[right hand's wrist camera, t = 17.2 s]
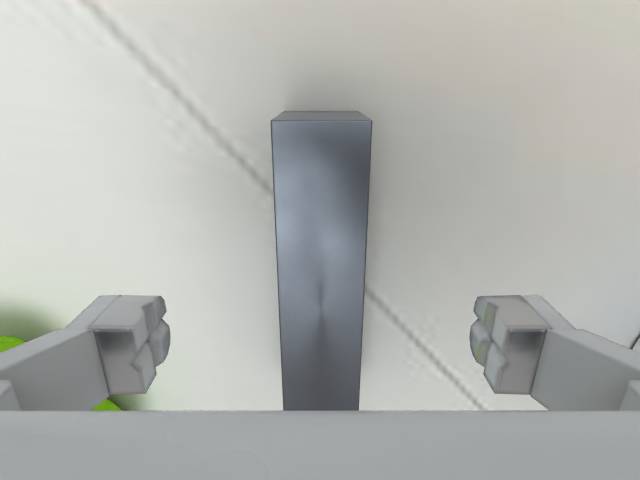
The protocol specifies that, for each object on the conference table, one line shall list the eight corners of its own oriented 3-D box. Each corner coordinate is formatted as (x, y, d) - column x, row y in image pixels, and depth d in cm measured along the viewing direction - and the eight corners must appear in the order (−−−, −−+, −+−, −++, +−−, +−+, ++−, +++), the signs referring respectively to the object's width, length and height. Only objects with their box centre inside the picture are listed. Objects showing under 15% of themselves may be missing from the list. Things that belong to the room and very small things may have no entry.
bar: (283, 111, 31) (270, 120, 23) (358, 111, 31) (372, 120, 23) (291, 373, 40) (284, 444, 32) (349, 373, 40) (357, 444, 32)
